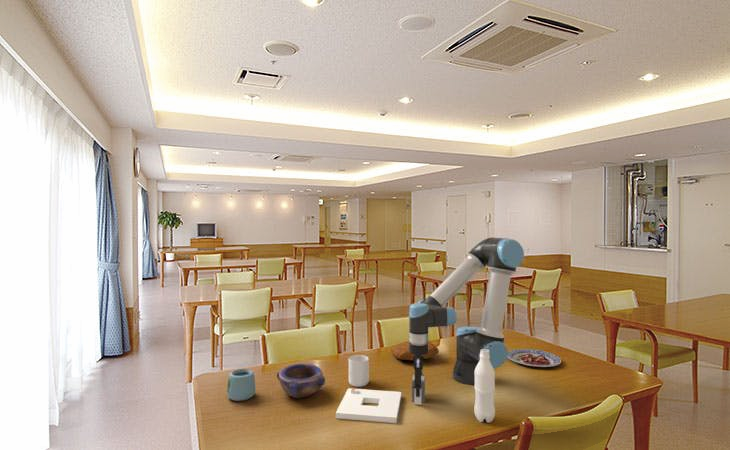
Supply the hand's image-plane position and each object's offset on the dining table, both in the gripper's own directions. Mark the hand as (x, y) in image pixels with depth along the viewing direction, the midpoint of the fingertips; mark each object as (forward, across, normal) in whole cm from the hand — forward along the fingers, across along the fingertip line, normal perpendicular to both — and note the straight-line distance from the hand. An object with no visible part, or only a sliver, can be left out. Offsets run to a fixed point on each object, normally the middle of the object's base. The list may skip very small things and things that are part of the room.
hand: (418, 398), depth 165 cm
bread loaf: (0, -48, -4) cm, 48 cm away
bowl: (+1, +3, -48) cm, 48 cm away
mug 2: (+1, -13, -27) cm, 30 cm away
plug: (0, 0, 0) cm, 0 cm away
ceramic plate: (0, -55, +56) cm, 79 cm away
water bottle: (0, +13, +24) cm, 27 cm away
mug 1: (+1, +8, -72) cm, 72 cm away
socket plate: (0, +10, -18) cm, 20 cm away
